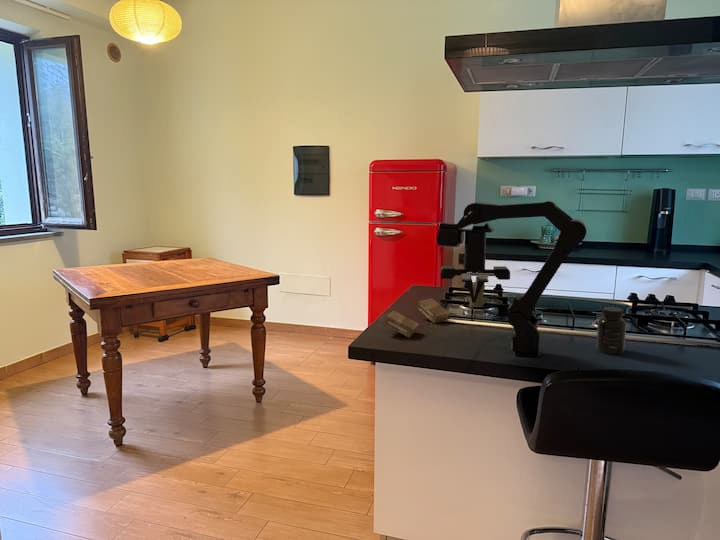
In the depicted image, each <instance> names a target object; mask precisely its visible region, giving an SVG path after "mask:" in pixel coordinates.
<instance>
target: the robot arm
mask: <svg viewBox="0 0 720 540" xmlns="http://www.w3.org/2000/svg"><path fill="white" fill-rule="evenodd" d="M537 217H538V218H540V217H541V218H542V217H543V218H545V219H546V220H548V221H549V223H550V224H552V225H553V226H554V227H555V228H556V230H558V231H559V235H558V237H557V240H556V242H555V245H554V246H553V247H554V248H553V249H552V251H551V252H550V254H549V256H548V257H547V259H546V260H545V262H544V263H543V265H542V267H541V268H540V270H539V271H538V273H537V275H536V276H535V278H534V279H533V281H532V283H531V284H530V285H529V287H528V289H527V290H526V291H525V293H523V294H522V295H520V294H519V293H516V295H515V297H514V299H513V301H512V303H510V304H509V306H508V308H507V309H506V310H507V312H508V313H507V316H506V319H507V321H508V323H509V325H511V326H512V328H513V333H512V334H511V339H510V342H511V343H510V348H511V351H512V352H513V355H514V356H516V357H537V358H540V357H541V354H540V351H539V349H540V332H539V330H538V327H539V325H540V320H539V319H538V318H537V317H536V316H535V315H534V314H533V313H534V311H535V307H536V306H537V303H538V301H539V299H540V298H541V296H542V295H543V293H544V291H545V290H546V289H547V287H548V286H549V284H550V283H551V281H552V279H553V278H554V276H555V275H556V273H557V272H558V271H559V268H560V267H561V265H562V264H563V263H564V261H565V260H566V258H567V257H568V256H569V254H571V253H572V252H573V251H574V250H575V249H576V248H577V247H578V246H579V245H580V244H581V243H582V242H583V240H584V239H585V238H586V235H587V226H586V224H585V223H584V222H583V221H582V220H580V219H577V218H576V219H575V218H573V217H571V216H570V215H569V214H568V213H567V212H566V211H564V210H562V209H561V208H560V207H558V206H557V204H556V203H555V202H554V201H552V200H547V201H542V202H526V203H510V204H509V203H508V204H496V203H489V202H480V201H478V202H473V203H469V204H467V205H466V206H465V208H464V210H463V216H462V217H461V218H460V219H459V220H458V222H457V223H449V222H448V223H447V222H441V223H439V228H438V231H437V235H436V243H437V246H438V247H445V248H460V246H461V245H463V244H464V253H458V256H457V260H458V261H457V265H458V266H463V268H456V266H455V265H442V266H441V267H440V279H441V280H442V279H443V280H452V279H453V278H455V277H456V276H457V277H459V276H460V281H461V283H465V285H466V287H467V289H468V292H469V296H470V298H471V300H472V303H475V302H476V300H477V297H478V295H479V292H480V290H481V288H482V287H483V285H485V283H489V277H495V278H496V279H497V280H500V281H501V280H502V281H503V280H504V281H505V280H507V281H508V280H510V279H511V271H510V269H509V268H508V267H507V266H505V265H504V266H501V265H500V266H493V269H492V268H490V269H489V268H488V269H486V248H487V247H486V246H487V244H486V243H487V233H490V234H491V233H492V232H494V231H495V230H494V228H493V227H492V226H490V223H488V222H492V221H496V220H499V219H500V220H503V219H504V220H505V219H520V218H522V219H523V218H524V219H525V218H537ZM482 223H483V224H484V223H485V224H484V225H479V224H482ZM471 225H472V227H471V228H467V227H469V226H471ZM472 277H475V282H476V284H475V291H474V293H473V283H472V282H473V278H472Z"/></svg>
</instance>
